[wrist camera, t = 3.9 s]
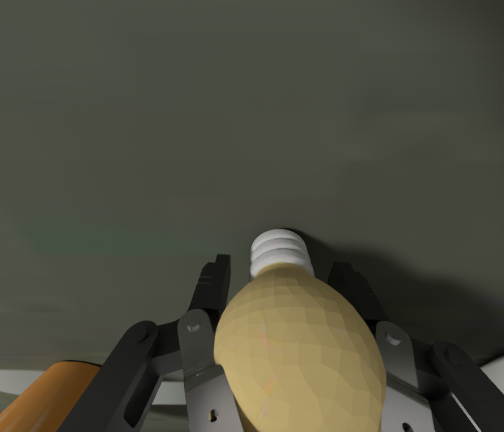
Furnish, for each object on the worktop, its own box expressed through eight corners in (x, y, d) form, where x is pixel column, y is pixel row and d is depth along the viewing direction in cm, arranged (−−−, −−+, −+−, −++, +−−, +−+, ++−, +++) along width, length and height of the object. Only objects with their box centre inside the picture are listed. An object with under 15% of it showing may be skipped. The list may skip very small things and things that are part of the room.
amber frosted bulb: (342, 221, 13) (516, 481, 4) (301, 285, 16) (350, 508, 7) (246, 193, 12) (207, 439, 3) (223, 267, 15) (174, 489, 6)
